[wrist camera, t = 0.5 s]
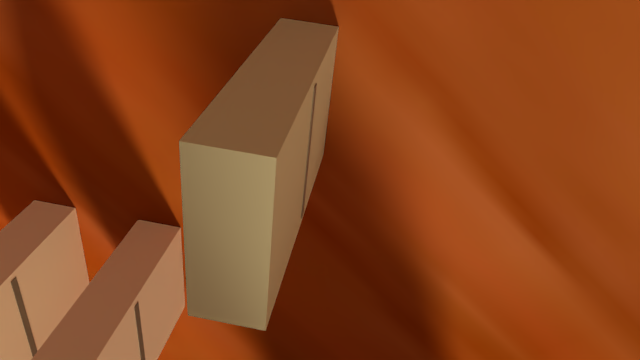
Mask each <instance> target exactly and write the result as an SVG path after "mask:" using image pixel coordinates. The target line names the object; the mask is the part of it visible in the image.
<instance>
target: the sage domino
mask: <svg viewBox="0 0 640 360" xmlns="http://www.w3.org/2000/svg"><path fill="white" fill-rule="evenodd" d="M338 29H339V26H332V25H325V24H319V23H312V22H305V21H299V20H292V19H285V18H280V19H279V21H278V22H277V23H276V24H275V26H274V27H273V28H272V29H271V30H270V32H269V33H268V34H267V35H266V36H265V38H264V39H263V40H262V41H261V43H260V44H259V45H258V46H257V47H256V49H255V50H254V51H253V52H252V53H251V55H250V56H249V57H248V58H247V59H246V61H245V62H244V63H243V64H242V66H241V67H240V68H239V69H238V70H237V72H236V73H235V74H234V75H233V76H232V78H231V79H230V80H229V81H228V82H227V84H226V85H225V86H224V87H223V89H222V90H221V91H220V92H219V93H218V95H217V96H216V97H215V98H214V99H213V101H212V102H211V103H210V104H209V105H208V107H207V108H206V109H205V110H204V112H203V113H202V114H201V115H200V116H199V118H198V119H197V120H196V121H195V122H194V124H193V125H192V126H191V127H190V129H189V130H188V131H187V132H186V133H185V135H184V136H183V137H182V138H181V139H180V141H179V149H180V169H181V189H182V208H183V228H184V248H185V267H186V287H187V307H188V315H189V316H194V317H199V318H204V319H209V320H214V321H219V322H224V323H229V324H234V325H239V326H244V327H249V328H254V329H259V330H264V331H266V328H267V325H268V322H269V319H270V316H271V313H272V310H273V307H274V304H275V301H276V298H277V295H278V292H279V288H280V285H281V282H282V279H283V276H284V273H285V270H286V267H287V264H288V261H289V258H290V255H291V252H292V249H293V246H294V243H295V240H296V237H297V234H298V231H299V228H300V225H301V221H302V218H303V215H304V212H305V209H306V206H307V203H308V200H309V197H310V194H311V191H312V188H313V185H314V182H315V179H316V176H317V173H318V170H319V167H320V164H321V161H322V158H323V154H324V147H325V138H326V130H327V121H328V113H329V105H330V96H331V88H332V80H333V71H334V63H335V54H336V46H337V38H338Z"/></svg>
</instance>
